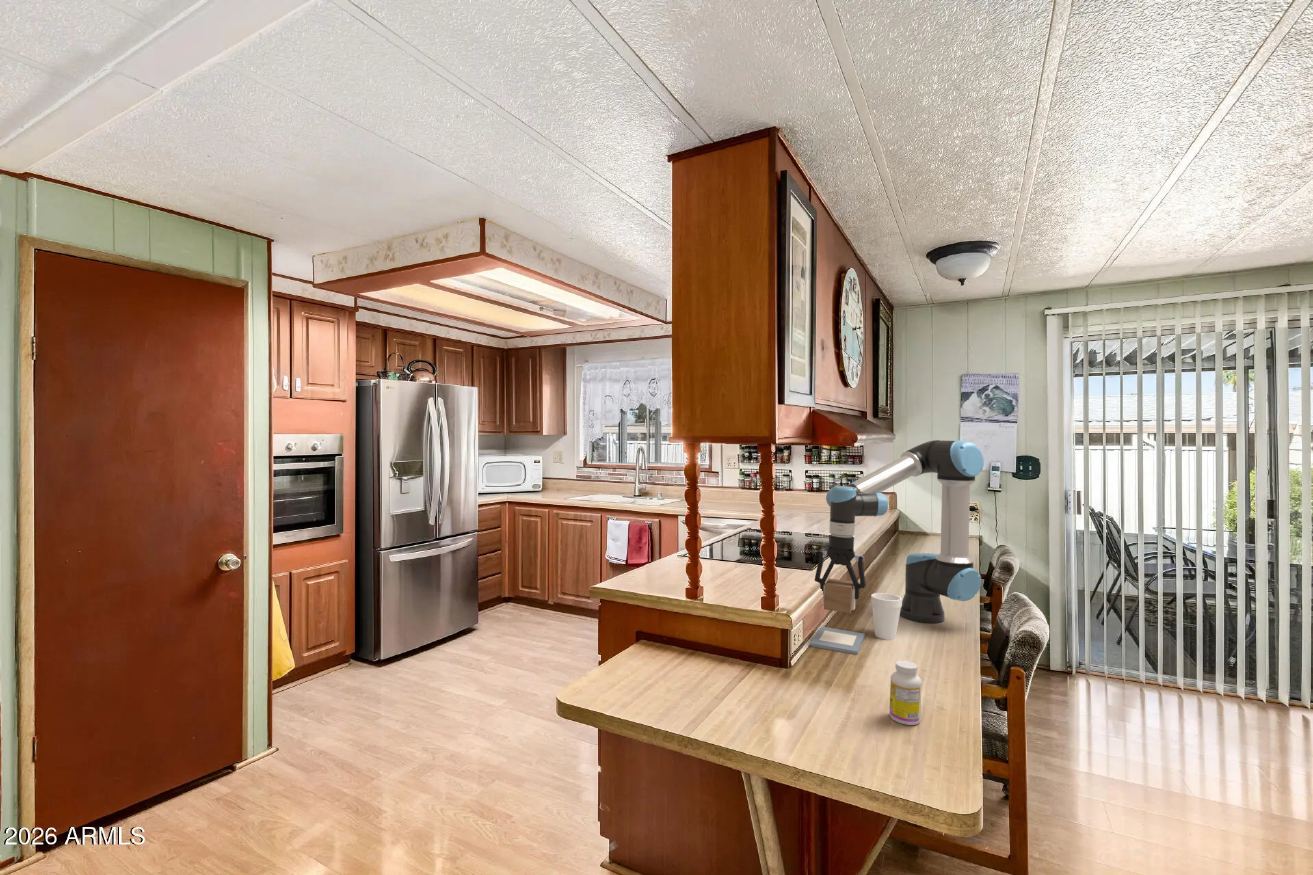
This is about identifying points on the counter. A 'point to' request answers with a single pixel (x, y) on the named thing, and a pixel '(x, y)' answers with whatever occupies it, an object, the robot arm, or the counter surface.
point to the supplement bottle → (905, 694)
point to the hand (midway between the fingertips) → (838, 606)
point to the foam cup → (886, 614)
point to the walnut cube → (838, 595)
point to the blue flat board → (838, 640)
